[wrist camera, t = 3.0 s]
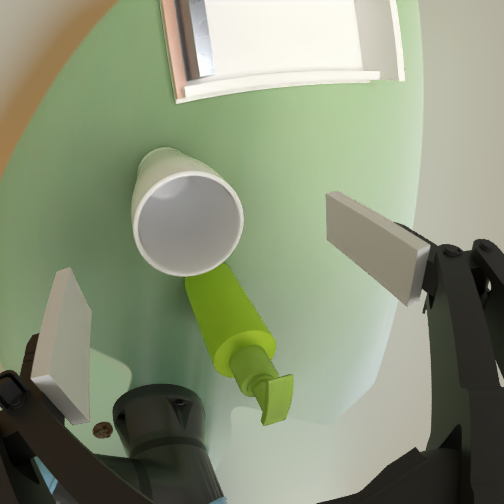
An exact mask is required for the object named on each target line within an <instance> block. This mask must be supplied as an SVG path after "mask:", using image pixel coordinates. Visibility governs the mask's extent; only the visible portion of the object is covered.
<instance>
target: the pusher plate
mask: <svg viewBox="0 0 504 504" xmlns="http://www.w3.org/2000/svg"><path fill="white" fill-rule="evenodd" d="M175 5H176V13H177V19H178V26H179V33H180V40H181V46H182V52H183V59H184V65H185V71H186V77H187V81H192V80H198V79H202V78H205V77H208V76H212V75H215V67H214V61H213V54H212V48H211V41H210V35H209V28H208V21H207V15H206V8H205V1H204V0H175Z"/></svg>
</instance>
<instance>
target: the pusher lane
mask: <svg viewBox="0 0 504 504" xmlns="http://www.w3.org/2000/svg"><path fill="white" fill-rule="evenodd" d="M204 1H205V8H206V15H207V21H208V28H209V35H210V41H211V48H212V54H213V61H214V67H215V75H212V76H208V77H205V78H202V79H198V80H192V81H187V77H186V71H185V65H184V59H183V52H182V46H181V40H180V33H179V26H178V19H177V13H176V5H175V0H159V2H160V10H161V17H162V24H163V31H164V38H165V44H166V51H167V57H168V63H169V69H170V75H171V81H172V87H173V93H174V98H175V104H179V103H184V102H188V101H193V100H198V99H204V98H209V97H215V96H220V95H226V94H233V93H239V92H246V91H254V90H262V89H270V88H279V87H290V86H302V85H316V84H336V83H370V80H394V81H405V75H404V62H403V51H402V42H401V34H400V26H399V19H398V12H397V6H396V0H204Z"/></svg>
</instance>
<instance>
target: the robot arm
mask: <svg viewBox="0 0 504 504" xmlns="http://www.w3.org/2000/svg"><path fill="white" fill-rule="evenodd" d="M326 223H327V240H328V241H329V242H330V243H331V244H333V245H334V246H335V247H336V248H338V249H339V250H340V251H341V252H343V253H344V254H345V255H346V256H347V257H349V258H350V259H351V260H352V261H354V262H355V263H356V264H357V265H358V266H360V267H361V268H362V269H363V270H364V271H366V272H367V273H368V274H369V275H370V276H372V277H373V278H374V279H375V280H376V281H378V282H379V283H380V284H381V285H382V286H383V287H385V288H386V289H387V290H388V291H389V292H390V293H392V294H393V295H394V296H395V297H396V298H397V299H399V300H400V301H401V302H402V303H403V304H404V305H405V306H407V307H408V306H409V305H411V304H413V303H415V302H417V301H419V299H420V294H421V290H422V289H423V290H424V291H426V292H427V296H426V300H425V304H424V308H423V313H424V314H425V310H426V309H427V316H428V326H429V338H430V354H431V376H432V418H431V434H430V437H429V441H428V443H427V447H426V451H422V452H419V451H418V449H417V448H416V447H415V448H413V449H412V450H411V451H409V452H408V453H406V454H405V455H403V456H402V457H400V458H399V459H397V460H396V461H394V462H392V463H391V464H389V465H388V466H387V467H386V468H384V469H383V471H381V473H379V475H378V476H376V478H374V479H373V480H372V481H371V482H370V483H369V484H368V485H367V486H366V487H365V488H364V489H363V490H361V491H360V492H358V493H356V494H352V495H349V496H345V497H341V498H337V499H333V500H329V501H325V502H321V503H317V504H504V387H501V386H500V383H499V377H498V372H497V366H496V362H497V364H498V367H499V369H500V371H501V374H502V376H503V378H504V254H503V253H502V251H501V250H500V249H499V248H498V247H497V246H496V245H495V244H494V243H492V242H490V241H489V240H486V239H477V240H475V241H474V243H473V247H472V250H470V251H462V250H461V249H460V248H459V247H456V246H454V245H450V244H442V245H440V246H437V245H436V244H434V243H432V242H431V241H429V240H428V239H426V238H424V237H423V236H421V235H418V233H416V232H415V231H412V230H411V229H410V228H408V227H406V226H405V225H402V224H399V223H396V222H392V221H390V220H389V219H387V218H385V217H384V216H382V215H380V214H379V213H377V212H375V211H373V210H372V209H370V208H368V207H366V206H365V205H363V204H361V203H359V202H357V201H356V200H354V199H352V198H350V197H348V196H346V195H345V194H343V193H341V192H339V191H335V192H331V193H327V194H326ZM489 281H490V283H491V290H489V289H488V283H489ZM91 319H92V311H91V309H90V307H89V305H88V303H87V301H86V299H85V297H84V295H83V293H82V291H81V289H80V287H79V285H78V283H77V281H76V279H75V276H74V274H73V272H72V270H71V267H68V268H65V269H62V270H59V271H57V272H56V275H55V278H54V281H53V285H52V288H51V292H50V295H49V299H48V302H47V306H46V309H45V313H44V317H43V321H42V325H41V329H40V333H38V334H35V335H32V337H31V339H30V340H29V342H28V344H27V346H26V350H25V356H24V359H23V364H22V368H21V373H20V377H19V376H18V374H17V373H16V372H14V371H13V370H7V371H4V372H2V373H0V407H1V408H2V409H3V410H1V411H0V504H227V502H226V497H224V495H223V492H222V490H221V487H220V485H219V483H218V480H217V477H216V475H215V472H214V470H213V467H212V464H211V462H210V459H209V456H208V454H207V451H206V448H205V445H204V428H205V412H204V408H203V406H202V403H201V400H200V398H199V397H198V396H197V395H196V394H195V393H194V392H193V391H191V390H189V389H187V388H185V387H182V386H178V385H172V384H151V385H145V386H141V387H138V388H135V389H132V390H130V391H128V392H126V393H125V394H123V395H122V396H121V397H120V398H119V399H118V400H117V401H116V402H115V404H114V406H113V422H114V426H115V429H116V430H117V432H118V434H119V436H120V438H121V440H122V442H123V444H124V446H125V447H126V449H127V451H128V453H129V456H130V458H124V457H116V456H107V455H100V454H94V453H92V452H91V451H90V450H89V449H87V447H85V446H84V445H83V444H82V443H81V442H80V441H79V440H78V439H77V438H76V437H75V436H74V435H73V434H72V433H71V432H70V431H69V430H68V429H67V428H66V427H65V426H64V421H65V420H64V419H65V418H66V419H67V420H68V421H69V422H70V423H71V424H72V425H76V424H82V423H87V422H90V413H89V412H90V411H89V355H90V334H91ZM495 360H496V361H495Z"/></svg>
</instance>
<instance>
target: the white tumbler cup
mask: <svg viewBox="0 0 504 504" xmlns="http://www.w3.org/2000/svg"><path fill="white" fill-rule="evenodd" d="M131 222H132V229H133V234H134V239H135V243H136V246H137V248H138V250H139V252H140V253H141V255H142V256H143V258H144V259H145V260H146V261H147V262H148V263H149V264H150V265H151V266H153V267H154V268H156V269H157V270H159V271H161V272H163V273H166V274H169V275H173V276H183V277H185V276H195V275H199V274H203V273H205V272H208V271H210V270H212V269H214V268H216V267H217V266H219V265H220V264H221V263H223V262H224V261H225V260H226V259H227V258H228V257H229V256H230V255H231V253H232V252H233V251H234V249H235V248H236V246H237V244H238V242H239V240H240V237H241V234H242V230H243V224H244V215H243V208H242V205H241V202H240V199H239V197H238V196H237V194H236V192H235V191H234V190H233V188H232V187H231V186H230V185H229V184H228V183H227V182H226V181H225V179H224V178H222V177H221V176H220V175H219V174H218V173H217V172H216V171H215V170H213V169H212V168H211V167H209V166H208V165H206V164H205V163H203V162H201V161H199V160H197V159H195V158H192V157H190V156H187V155H185V154H183V153H181V152H180V151H178V150H176V149H174V148H170V147H161V148H157V149H154V150H152V151H150V152H149V153H148V154H146V155H145V157H144V158H143V159H142V161H141V162H140V164H139V167H138V172H137V179H136V183H135V187H134V190H133V195H132V201H131Z"/></svg>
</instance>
